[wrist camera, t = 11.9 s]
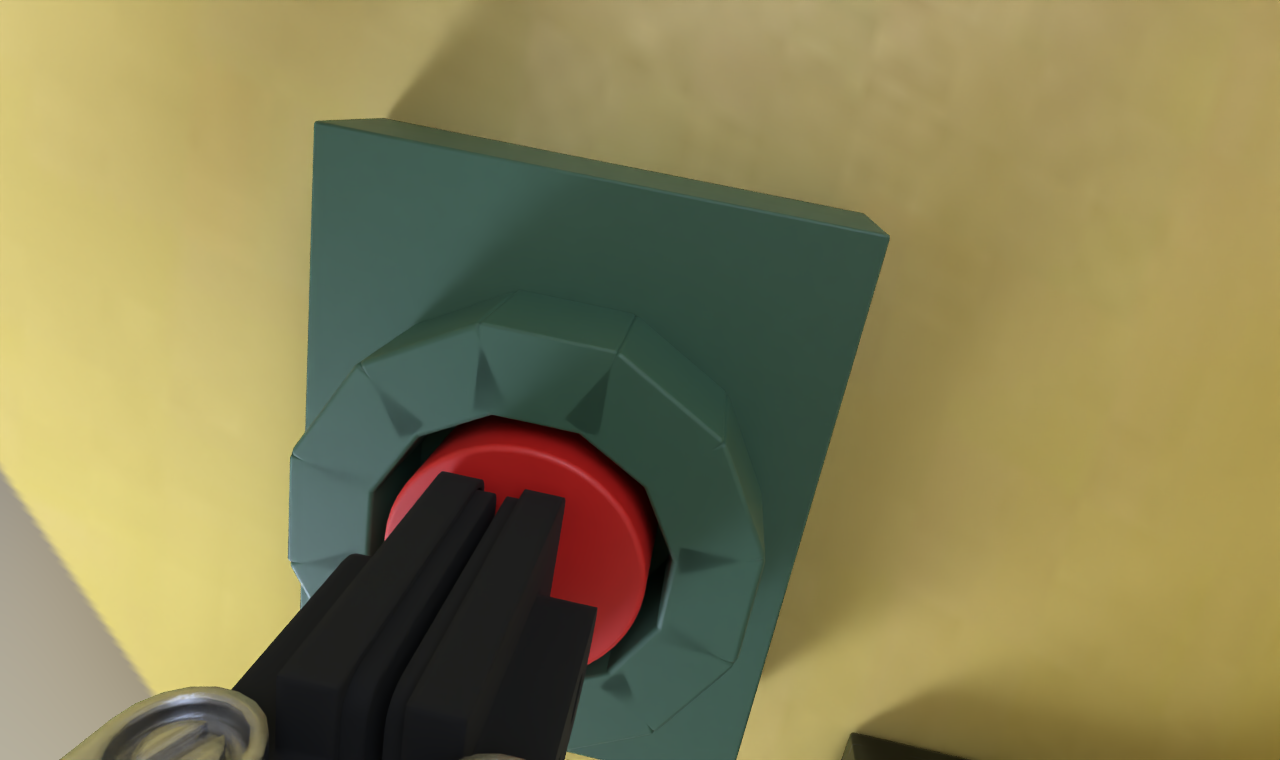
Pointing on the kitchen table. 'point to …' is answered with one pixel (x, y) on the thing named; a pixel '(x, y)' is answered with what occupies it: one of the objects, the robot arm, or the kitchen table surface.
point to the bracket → (888, 750)
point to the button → (593, 517)
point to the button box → (586, 380)
